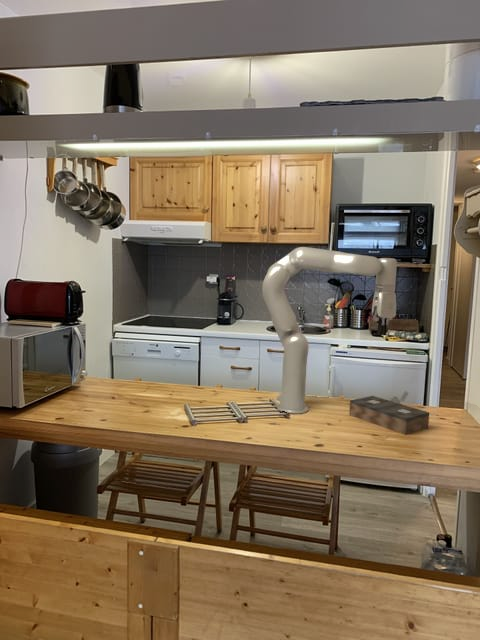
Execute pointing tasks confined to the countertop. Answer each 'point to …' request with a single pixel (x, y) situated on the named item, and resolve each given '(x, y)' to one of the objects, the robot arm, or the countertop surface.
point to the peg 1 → (373, 401)
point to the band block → (389, 415)
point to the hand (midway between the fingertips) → (381, 334)
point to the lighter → (396, 400)
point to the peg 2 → (404, 411)
